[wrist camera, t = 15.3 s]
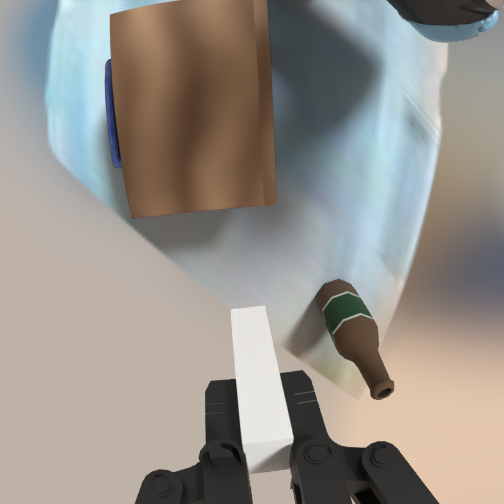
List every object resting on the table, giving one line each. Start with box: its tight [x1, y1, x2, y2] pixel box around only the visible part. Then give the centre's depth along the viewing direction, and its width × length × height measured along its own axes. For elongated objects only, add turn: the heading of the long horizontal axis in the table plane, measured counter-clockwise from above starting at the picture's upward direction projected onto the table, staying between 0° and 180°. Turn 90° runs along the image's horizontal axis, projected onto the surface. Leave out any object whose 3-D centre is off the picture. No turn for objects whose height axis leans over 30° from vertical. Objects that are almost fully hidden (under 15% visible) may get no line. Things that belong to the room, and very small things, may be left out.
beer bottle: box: [316, 279, 394, 400], centre depth 47 cm, size 8×8×24 cm
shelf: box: [110, 0, 276, 219], centre depth 32 cm, size 14×21×17 cm
